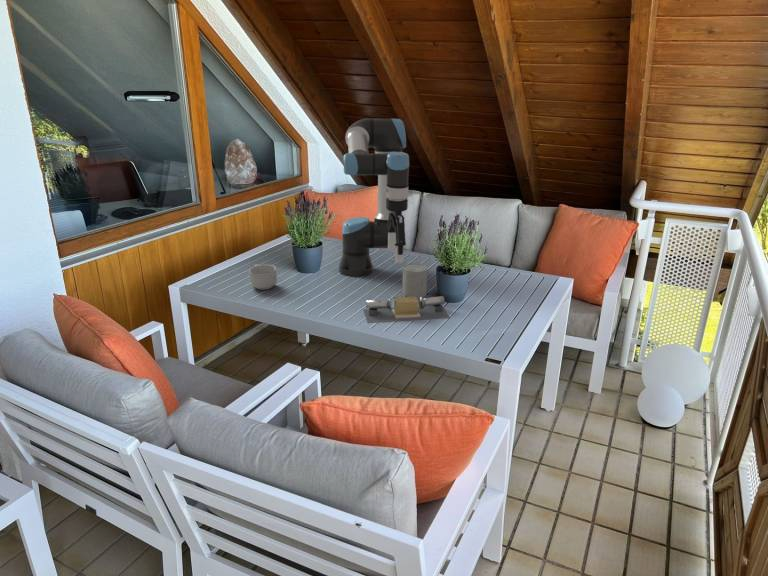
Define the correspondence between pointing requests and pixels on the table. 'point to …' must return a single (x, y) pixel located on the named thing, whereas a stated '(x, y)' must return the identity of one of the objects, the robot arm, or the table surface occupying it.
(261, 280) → the teacup
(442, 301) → the shaft
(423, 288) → the speckled tin can
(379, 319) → the board
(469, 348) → the table surface
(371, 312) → the shaft
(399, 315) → the off-white flat plate
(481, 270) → the table surface
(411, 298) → the coupler
